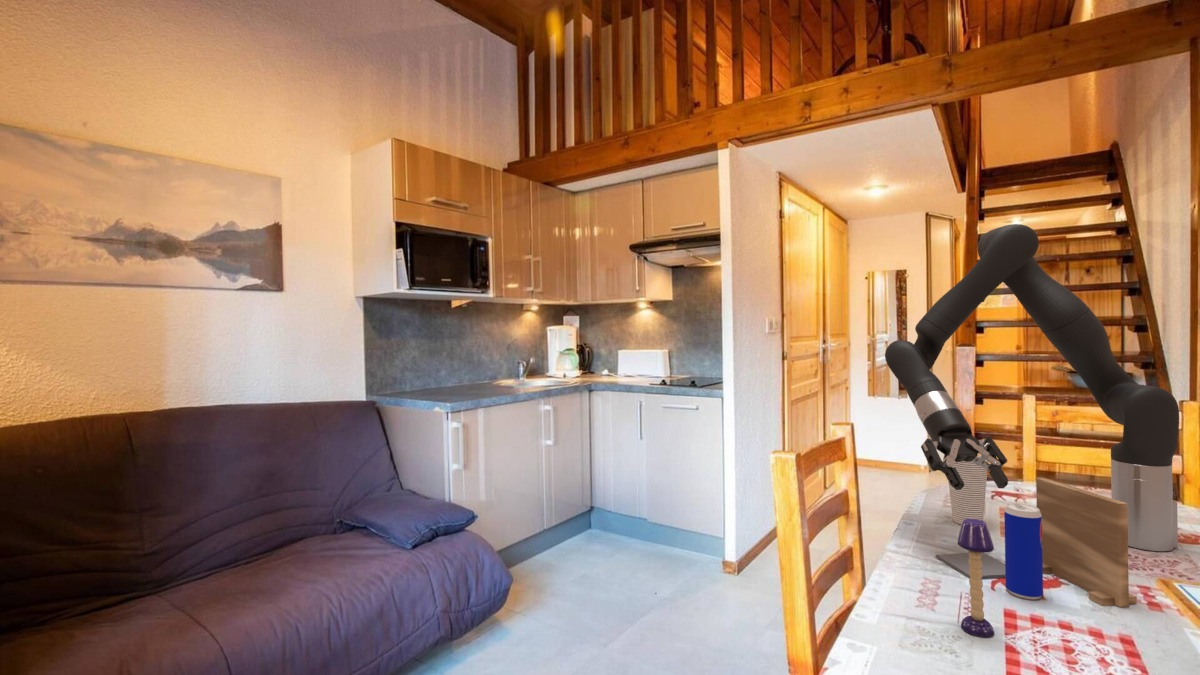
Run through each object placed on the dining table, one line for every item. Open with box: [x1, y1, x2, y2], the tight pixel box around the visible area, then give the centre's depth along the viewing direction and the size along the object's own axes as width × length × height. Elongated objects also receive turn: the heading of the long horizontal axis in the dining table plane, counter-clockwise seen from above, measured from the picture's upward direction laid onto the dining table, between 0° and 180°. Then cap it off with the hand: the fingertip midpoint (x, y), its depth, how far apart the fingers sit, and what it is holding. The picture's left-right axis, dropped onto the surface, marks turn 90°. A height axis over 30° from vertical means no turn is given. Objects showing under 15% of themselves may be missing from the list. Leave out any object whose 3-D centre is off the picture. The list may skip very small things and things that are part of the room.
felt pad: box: [935, 552, 1005, 580], centre depth 107 cm, size 10×10×1 cm
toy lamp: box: [957, 519, 995, 638], centre depth 85 cm, size 5×5×17 cm
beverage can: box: [1003, 502, 1044, 601], centre depth 96 cm, size 5×5×15 cm
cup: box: [948, 454, 989, 526], centre depth 131 cm, size 8×8×16 cm
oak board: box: [1035, 477, 1138, 608], centre depth 99 cm, size 6×16×17 cm, turn 3°
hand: (982, 487), depth 105 cm, fingers open, 8 cm apart
